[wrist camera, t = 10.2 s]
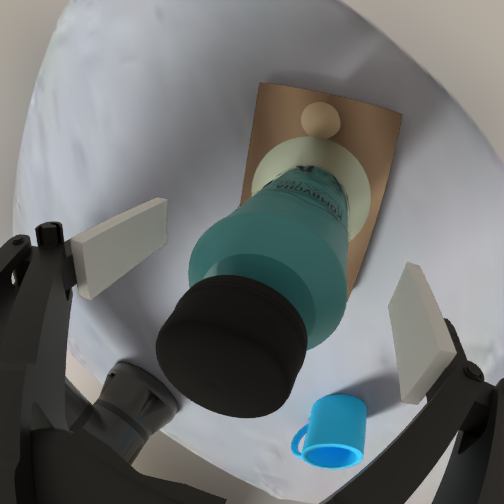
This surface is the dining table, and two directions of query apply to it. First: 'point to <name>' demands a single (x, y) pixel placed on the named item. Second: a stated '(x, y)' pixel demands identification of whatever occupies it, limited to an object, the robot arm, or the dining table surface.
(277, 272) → the beverage bottle
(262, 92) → the wooden board with pegs
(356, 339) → the dining table surface
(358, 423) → the mug
